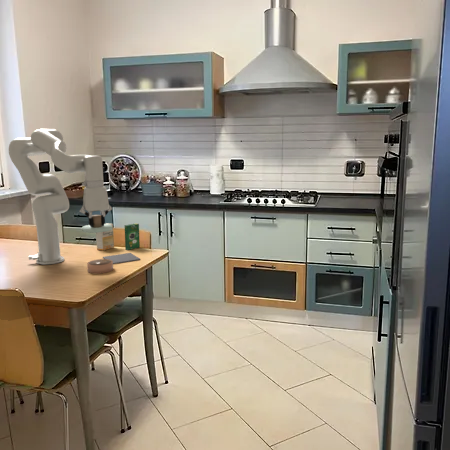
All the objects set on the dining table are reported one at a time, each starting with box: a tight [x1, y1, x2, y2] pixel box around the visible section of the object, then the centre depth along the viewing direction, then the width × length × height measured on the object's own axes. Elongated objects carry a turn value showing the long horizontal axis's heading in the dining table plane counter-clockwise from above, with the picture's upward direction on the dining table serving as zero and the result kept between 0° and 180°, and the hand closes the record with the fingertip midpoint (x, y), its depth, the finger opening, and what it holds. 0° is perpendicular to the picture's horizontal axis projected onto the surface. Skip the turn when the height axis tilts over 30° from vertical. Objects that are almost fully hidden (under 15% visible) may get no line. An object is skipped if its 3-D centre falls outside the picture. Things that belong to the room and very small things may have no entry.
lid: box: [81, 214, 114, 234], centre depth 207 cm, size 13×13×6 cm
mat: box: [102, 252, 141, 265], centre depth 229 cm, size 14×14×1 cm
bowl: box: [86, 258, 114, 275], centre depth 211 cm, size 11×11×4 cm
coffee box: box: [124, 222, 141, 251], centre depth 248 cm, size 8×3×13 cm, turn 142°
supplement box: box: [95, 222, 115, 251], centre depth 249 cm, size 8×5×13 cm, turn 148°
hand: (97, 225), depth 207 cm, fingers closed on lid, 4 cm apart
